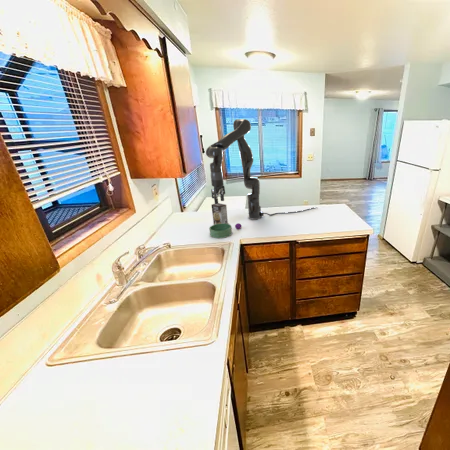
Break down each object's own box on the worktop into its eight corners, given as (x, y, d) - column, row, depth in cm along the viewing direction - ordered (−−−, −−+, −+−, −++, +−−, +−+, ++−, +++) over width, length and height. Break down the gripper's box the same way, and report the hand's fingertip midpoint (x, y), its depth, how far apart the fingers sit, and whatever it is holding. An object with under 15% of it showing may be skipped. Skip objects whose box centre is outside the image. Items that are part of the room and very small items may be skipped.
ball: (239, 227, 176) (238, 222, 175) (242, 229, 173) (242, 223, 172) (234, 229, 173) (233, 223, 171) (237, 230, 170) (237, 225, 169)
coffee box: (213, 225, 180) (210, 204, 174) (219, 222, 186) (217, 202, 180) (222, 227, 176) (220, 206, 171) (228, 224, 182) (226, 204, 176)
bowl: (224, 229, 173) (224, 222, 171) (236, 234, 164) (235, 226, 162) (206, 234, 163) (205, 227, 161) (217, 240, 154) (216, 232, 152)
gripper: (217, 180, 150) (219, 205, 156) (227, 177, 163) (229, 200, 169) (206, 180, 151) (209, 204, 157) (216, 176, 164) (219, 199, 170)
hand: (219, 202), depth 163 cm, fingers open, 8 cm apart
